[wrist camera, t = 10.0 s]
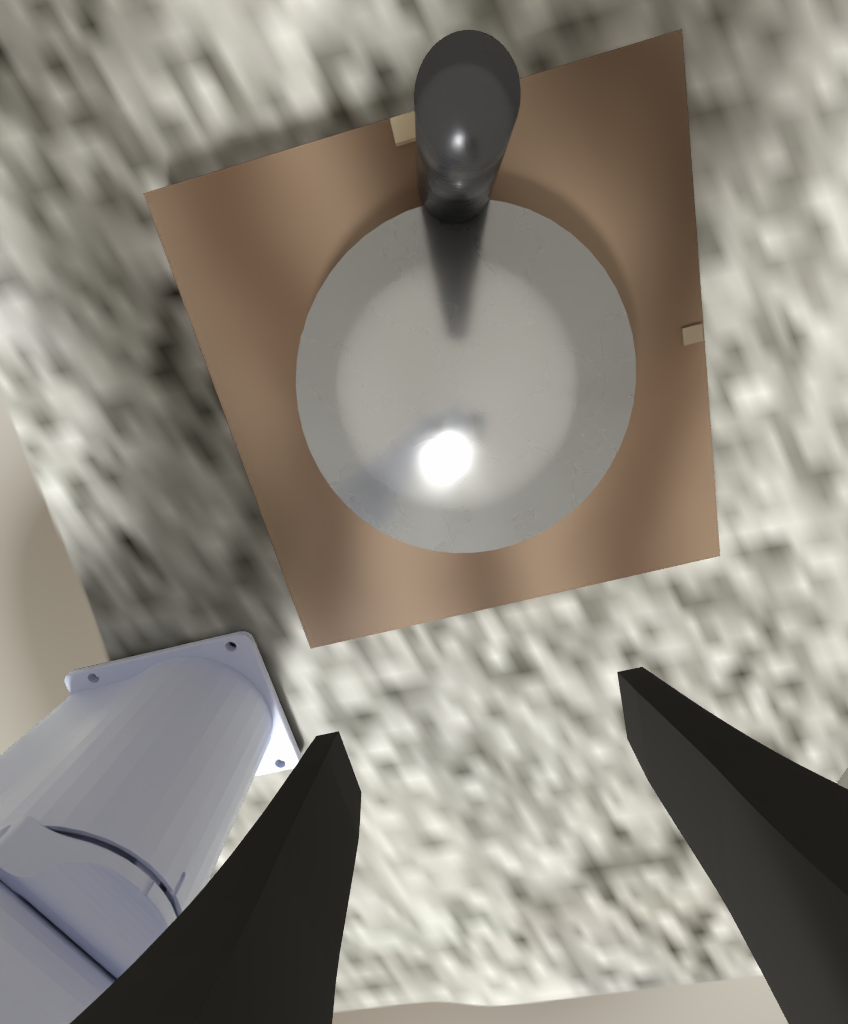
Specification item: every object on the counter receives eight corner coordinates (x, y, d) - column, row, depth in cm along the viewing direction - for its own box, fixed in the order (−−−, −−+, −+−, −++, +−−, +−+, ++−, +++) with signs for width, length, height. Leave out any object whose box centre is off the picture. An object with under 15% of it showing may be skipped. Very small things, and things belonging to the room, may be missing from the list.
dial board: (318, 630, 21) (309, 650, 19) (169, 211, 16) (139, 190, 14) (698, 543, 19) (723, 557, 18) (656, 64, 15) (685, 23, 13)
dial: (616, 533, 18) (687, 585, 13) (326, 554, 18) (291, 613, 13) (634, 124, 14) (744, -15, 9) (268, 158, 14) (190, 39, 9)
